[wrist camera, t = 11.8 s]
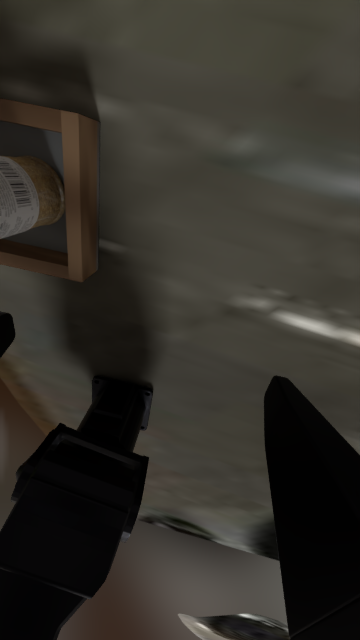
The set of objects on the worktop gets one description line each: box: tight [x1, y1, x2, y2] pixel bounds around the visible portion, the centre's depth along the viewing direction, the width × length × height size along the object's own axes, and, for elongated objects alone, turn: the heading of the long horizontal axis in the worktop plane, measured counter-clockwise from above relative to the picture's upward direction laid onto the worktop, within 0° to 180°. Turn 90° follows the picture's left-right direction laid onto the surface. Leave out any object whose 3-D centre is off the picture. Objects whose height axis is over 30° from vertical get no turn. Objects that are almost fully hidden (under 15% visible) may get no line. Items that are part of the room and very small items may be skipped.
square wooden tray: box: [0, 98, 100, 282], centre depth 18 cm, size 10×10×3 cm
